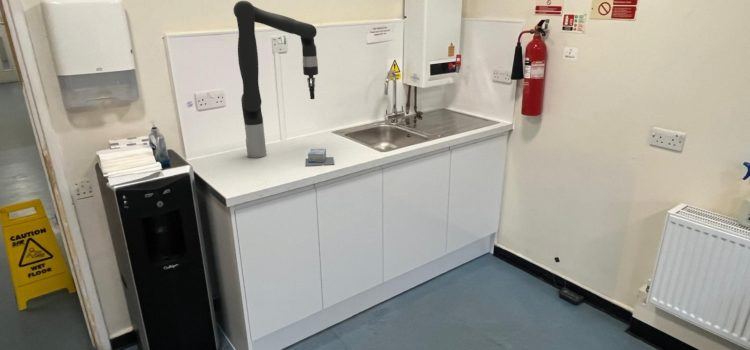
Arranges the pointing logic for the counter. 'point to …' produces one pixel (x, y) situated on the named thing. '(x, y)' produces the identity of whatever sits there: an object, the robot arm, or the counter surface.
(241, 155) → the counter surface
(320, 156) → the medicine box
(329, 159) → the mat
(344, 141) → the counter surface
